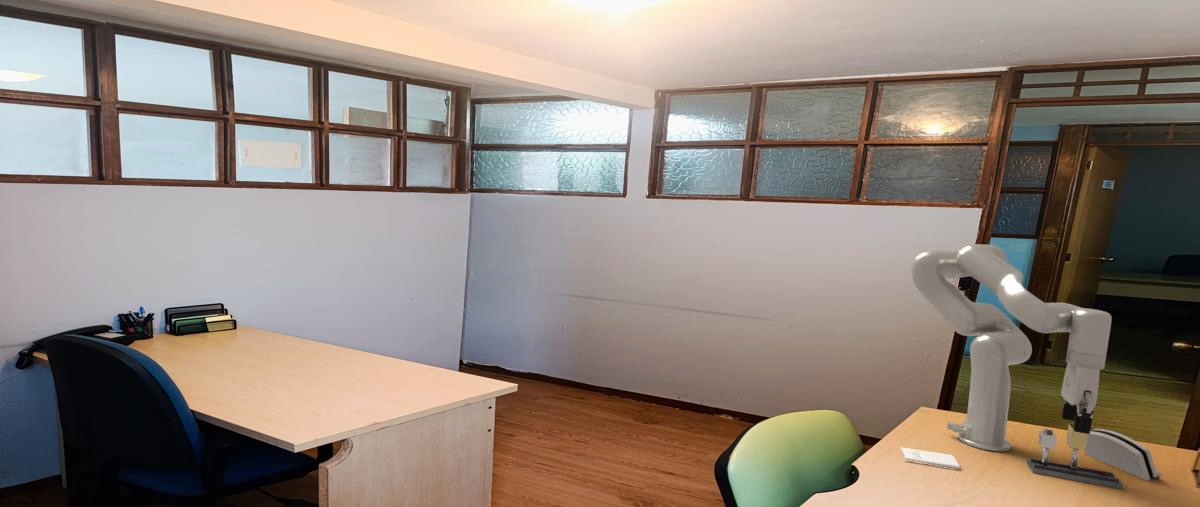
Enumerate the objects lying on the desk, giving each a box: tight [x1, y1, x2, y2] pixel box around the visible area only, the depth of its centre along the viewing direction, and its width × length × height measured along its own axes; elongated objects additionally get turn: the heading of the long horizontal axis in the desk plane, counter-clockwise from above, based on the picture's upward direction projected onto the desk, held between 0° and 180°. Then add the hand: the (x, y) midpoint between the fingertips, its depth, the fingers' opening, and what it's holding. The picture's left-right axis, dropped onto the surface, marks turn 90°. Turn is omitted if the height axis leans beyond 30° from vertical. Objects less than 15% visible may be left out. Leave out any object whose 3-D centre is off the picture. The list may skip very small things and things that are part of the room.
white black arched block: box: [1083, 428, 1162, 481], centre depth 162 cm, size 17×5×10 cm, turn 10°
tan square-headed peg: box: [1065, 423, 1088, 469], centre depth 154 cm, size 3×3×11 cm
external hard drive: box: [900, 446, 961, 471], centre depth 160 cm, size 2×8×12 cm
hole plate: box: [1026, 428, 1124, 490], centre depth 154 cm, size 18×7×10 cm, turn 66°
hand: (1075, 425), depth 154 cm, fingers open, 9 cm apart
